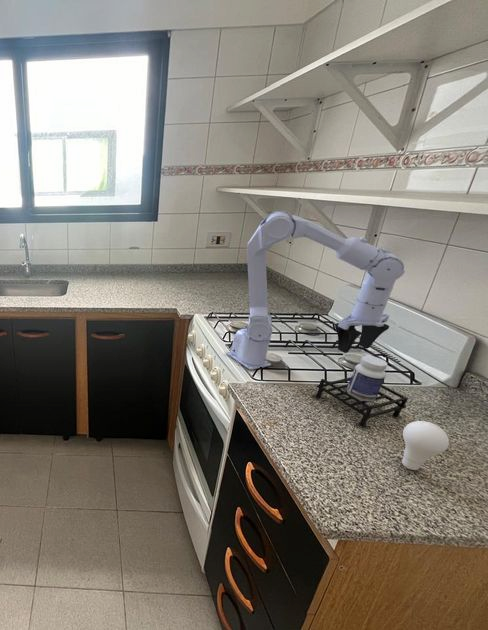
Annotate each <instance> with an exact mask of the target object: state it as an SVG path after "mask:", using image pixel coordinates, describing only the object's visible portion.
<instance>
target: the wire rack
mask: <svg viewBox="0 0 488 630" xmlns="http://www.w3.org/2000/svg"><path fill="white" fill-rule="evenodd" d="M350 379H351V376H350V377H346V378H343V379H337V380H333V381H328V380H326V379H324V378H321V379H320V381H319V384H317V385H316V388H318V389H317V391H316V394H315V398H317V399H321V397H322V395H323V393H326V394H327V395H329V396H331V397H333V398H334V399H336V400H337V401H339V402H340V403H342V404H344V405H345V406H347V407H348V408H350V409H352V410H353V411H355V412H356V413H358V414H360V415H361V416H362V417H361V419H360V422H359V424H358V425H359V426H360V427H361V428H364V427H366V425H367V423H368V421H369V419H372V418H375V417H379V416H382V415H387V414H390V413H392V416H393V417H395V418H399V416H400V414H401V412H402V410H403V409H406V408H407V405H406V403H407V401H408V400H409V398H408V397H406V396H405V395H403V394H400V393H398V392H397V391H395V390H393V389H391V388H389V387H387V386H386V385H384V384H382V386H381V389H384V390H385V391H387V392H389V393H391V394H393V395H395V396H396V397H399V398H396V399H394V398H392V397H391V396H389V395H387V394H386V393H383V392H381V391H379V392H378V395H379V396H378V395H377V397H376V399H375V400H374V401H373V402H375V401H378V400H382V399H385V400H387V401H384V402H380V403H377V404H373V405H369V404H367V403H370V402H372V401H362V400H359V399H357V398H355V397H353V396H351V395H350V394H348V392H347V390H343V389H345V388H346V389H347V386H348V384H349V383H347V384H342V383H346V382H349V381H350ZM338 384H342V385H338ZM336 385H338V386H336ZM325 387H331V388H325ZM332 391H338V392H336V393H334V392H332ZM340 396H346V397H345V398H344V397H340ZM351 400H353V401H354V402H352V403H350V402H349V401H351ZM394 404H395V405H396V406H394V407H390V408H387V409H383V410H379V411H376V412H372V411H373V410H375V409H378V408H383V407H386V406H389V405H394ZM359 405H361V406H363V407H362V408H358V407H357V406H359Z"/></svg>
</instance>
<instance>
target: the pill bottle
mask: <svg viewBox="0 0 488 630" xmlns="http://www.w3.org/2000/svg"><path fill="white" fill-rule="evenodd" d="M359 362H360V363H358V364H356V365H355V367H354V368H353V371H352V373H351V376H350V377H351V379H350V381H348V383H347V384H348V386H347V387H346V391H347V392H348V394H350V395H351V396H353V397H355V398H357V399H358V400H360V401H371V402H375V401H376V400H375V399H376V397H378V392H380V390H381V389H382V387H381V386H382V385H383V383H384V381H385V380H386V379H385V378H386V376H387V373H386V371H385V370H387V367H388V362H387V361H386V360H384V359H382V358H380V357H376V356H373V355H364V356H361V358H360V361H359ZM374 400H375V401H374Z"/></svg>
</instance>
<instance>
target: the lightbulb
mask: <svg viewBox="0 0 488 630" xmlns="http://www.w3.org/2000/svg"><path fill="white" fill-rule="evenodd" d="M402 437H403V441H404V447H405V448H404V451H403V457H402V459H401V463H402V465H403V466H404V467H405V468H406V469H408V470H412V471H418V470H419V469H420V468H421V467H422V465H424V464H425V463H426V462H427V461H428V460H429V459H430V458H431V457H433V456H437V455H439V454H442V453H444V452H445V451H446V450H447V449H448V447H449V445H450V440H449V437H448V434H447V433H446V431H445V430H444V429H442V428H441V427H440V426H439V425H437V424H435V423H432V422H430V421H424V420H415V421H412V422H409V423H408V424H407V425H405V426H404V428H403V430H402Z"/></svg>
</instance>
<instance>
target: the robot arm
mask: <svg viewBox="0 0 488 630" xmlns="http://www.w3.org/2000/svg"><path fill="white" fill-rule="evenodd" d="M290 236H291V239H299V238H307V239H310V240H311V241H313V242H316V243H318V244H320V245H322V246H324V247H327V248H329V249H331V250H333V251H335V255H336V258H337V259H339V260H341V261H342V262H344V263H347V264H349V265H351V266H353V267H355V268H357V269H359V270H361V271H366V274H365V278H364V280H363V281H362V285H361V287H360V290H359V292H358V295H357V298H356V301H355V303H354V306H353V309H352V312H351V313H349V315H347V316H346V317H344V318H342V319H340V320H339V322H336V323H335V324H334V329H335V331H336V334H337V350H338V351H339V352H342V353H344V354H347V353H349V351H350V350H351V348H352V346H353V344H354V343H355V342H356V340H357V339H358V338H359V341H358V346H360V347H363V348H365V349H366V350H368V349H370V347H371V346H372V345H373V343H374V342H375V341H376V340H377V339H378V338H379V337H380V336H381V335H382V334H383V333H385V332H386V331H387V330H389V329H390V325H389V324H386V323H388V320H389V319H390V315H389V314H386V313H384V311H385V309H386V306H387V304H388V301H389V299H390V296H391V294H392V291H393V289H394V286H395V282H396V281H397V280H398V279H400V278H401V277H402V276H403V275H404V274H405V272H406V271H405V270H404V269H405V265H404V262H403V260H401V259H400V258H398V256H396V255H395V254H393V253H392V252H390V251H388V249H386V248H384V247H381V248H379V247H378V246H374V245H372V244H371V243H369V242H368V239H366V238H364V237H362V236H360V237H359V238H358V237H356V236H354V237H348V238H344V237H342V236H340V235H338V234H336V233H334V232H332V231H330V230H328V229H326V228H324V227H322V226H320V225H319V224H316V223H315V222H313V221H311V220H309V219H307V218H303V217H301V216H299V215H295V214H291V215H290V213H288V212H287V211H284V210H276V211H274V212H271V213H270V214H269V215H268V216H266V217H265V218H264V219H263V220H262V221H261V222H260V223H259V225H258V227H257V229H256V230H255V232H254V233H253V235H252V236H251V238H250V239H249V241H248V242H247V244H246V256H247V257H246V259H247V261H246V262H247V277H248V295H249V297H248V299H249V315H248V318H247V319H248V320H247V323H248V324H247V327H246V328H241V329H239V330H238V331H236V333H235V334H234V336H233V340H232V345H231V349H230V352H228V353H227V355H228V356H230V358H232V359H234V360H235V361H236V362H237V363H239V364H241V365H242V366H244V367H245V368H246V369H248V370H250V371H251V370H257V369H261V368H260V367H262V368H266V367H270V366H272V363H271V362H270V361H268V360H266V358H267V354H268V351H269V347H270V343H271V340H272V334H273V326H272V324H273V317H272V315H271V313H270V310H269V302H268V300H269V299H268V276H267V258H266V257H267V254H266V252H267V251H269V250H270V249H271V248H272V247H273V246H274V245H275V244H278V243H280V242H282V241H284V240H286V239H288V238H289V237H290ZM360 326H361V331H360V330H357V328H356V327H360Z"/></svg>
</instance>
